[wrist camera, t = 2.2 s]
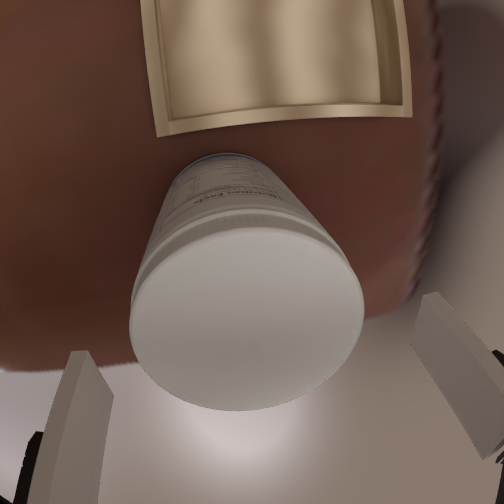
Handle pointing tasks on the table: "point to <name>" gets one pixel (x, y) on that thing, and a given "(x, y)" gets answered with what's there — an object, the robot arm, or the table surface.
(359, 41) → the caddy
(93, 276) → the table surface
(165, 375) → the supplement tub
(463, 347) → the robot arm
